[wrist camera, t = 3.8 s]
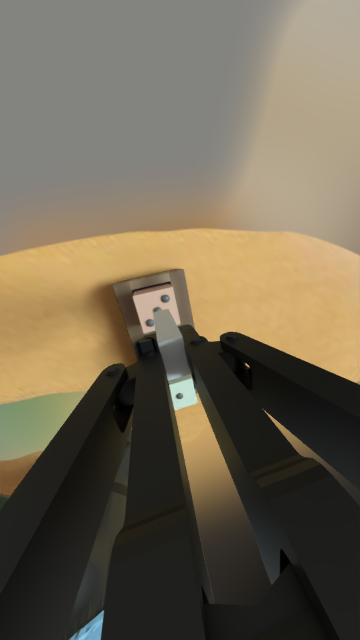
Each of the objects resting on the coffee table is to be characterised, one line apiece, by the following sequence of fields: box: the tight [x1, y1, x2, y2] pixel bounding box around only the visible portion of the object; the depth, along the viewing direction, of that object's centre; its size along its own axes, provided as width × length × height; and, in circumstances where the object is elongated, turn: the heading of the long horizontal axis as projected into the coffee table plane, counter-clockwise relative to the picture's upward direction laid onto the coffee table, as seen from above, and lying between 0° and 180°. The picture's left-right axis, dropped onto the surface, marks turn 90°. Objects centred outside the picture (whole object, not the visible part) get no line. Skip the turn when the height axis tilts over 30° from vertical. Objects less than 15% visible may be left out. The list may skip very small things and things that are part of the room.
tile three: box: [133, 283, 181, 333], centre depth 24 cm, size 5×5×5 cm
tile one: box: [168, 374, 198, 410], centre depth 28 cm, size 5×5×5 cm
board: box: [113, 269, 198, 393], centre depth 29 cm, size 10×22×4 cm, turn 11°
